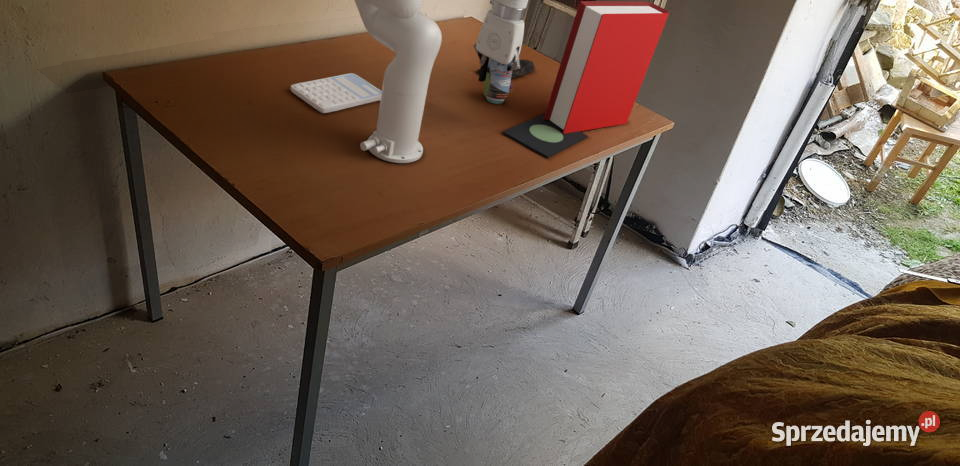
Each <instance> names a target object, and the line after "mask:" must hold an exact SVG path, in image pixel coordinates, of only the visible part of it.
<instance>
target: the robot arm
mask: <svg viewBox="0 0 960 466" xmlns="http://www.w3.org/2000/svg"><path fill="white" fill-rule="evenodd" d="M528 2H529V0H489V4H491V5H492V6H491V9H490V10H488V11H487V13H486V15H485V18H484V19H483V22H482V25H481V27H480V30H479V34H478V36H477V39H476V42H475V43H474V44H473V49H474V51H475V52H476V53H477V56H478V59H479V65H480V68H481V69H480V73H479V72H478V82H480V83H482V82H483V81H485V80H486V74H487V68H488V62H489V58H491V59H494V60H496V61H497V62H499V63H501V64H508V63H510V62H511V61H512V62H513V64H512V65H510V66H508V67H507V72H508V71H512V70H517V69H520V61H519V60H520V55H521V50H522V46H523V41H524V34H525V21H524V17H525V13H526V11H527V8H528V7H527V6H528V4H529V3H528ZM354 3H355V5H356V8H357V10H358V12H359V15H360V19H361V21H362V23H363V26H364V28H365V30H366V32H367V33H368V34H369V36H370V37H371V38H372V39H373V40H375V41H376V42H378V43H380V44H382V45H383V46H384V47H386V48H388V49H389V50H390V51H392V52H393V53H394V58H393V59H392V61H391V62H390V63H389V64H388V65H387V67H386V69H385V70H384V73H383V74H384V75H383V78H382V79H383V80H382V87H381V91H382V94H381V100H379V107H378V108H379V109H378V114H377V121H376V128H375V130H374V131H373V132H372V134H371V135H370V136H369V137H368V139H367V140H365V141H362V142H360V143H359V148H360V150H361V151H362V152H363V151H364V152H365V151H368V152H370V153H371V154H372V155H373V156H375V158H378V159H380V160H383V161H385V162H389V163H394V164H409V163H415V162H416V161H418V160H420V159H421V157H422V156H423V153H424V147H423V145H422V143H421V141H419V137H420V133H421V132H420V131H421V126H422V120H423V116H424V110H425V105H426V99H427V93H428V88H429V83H430V79H431V74H432V70H433V67H434V64H435V61H436V58H437V56H438V54H439V52H440V49H441V46H442V43H443V36H442V31H441V29H440V27H439V25H438V24H437V23H436V21H434V20H433V19H432V18H431V17H430V16H428V15H426V14H425V13H423V12H422V11H421V10H422V8H423V5H424V0H354Z"/></svg>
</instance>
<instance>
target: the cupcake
mask: <svg viewBox="0 0 960 466" xmlns="http://www.w3.org/2000/svg"><path fill="white" fill-rule="evenodd" d="M481 84H482V86H483V87H484V86H485V81H482V82H481ZM513 91H514V83H513V81H511V82H510V87H509V93H508V96H509V95H510V94H512V93H513ZM485 98H486V101H487V102H489V103H491V104H494V105H502V104H503V103H504V102H505V100H506V99H504V100H503V101H495V100H491V99H488V98H487V97H486V96H485Z"/></svg>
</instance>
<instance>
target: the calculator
mask: <svg viewBox="0 0 960 466" xmlns="http://www.w3.org/2000/svg"><path fill="white" fill-rule="evenodd" d="M289 89H290V92H291V93H292V94H294V95H295V96H296V97H298V98H300V99H301V100H302V101H303V102H305V103H306V104H308V105H309V106H311V108H313V109H315V110H316V111H318V112H319V113H321V114H328V113H329V114H330V113H332V112H337V111H341V110H346V109H349V108H355V107H359V106H363V105H367V104H371V103H375V102H380V100H381V94H382V89H379V88H378V87H376V85H375V86H374V85H373V84H372V83H370V82H369V81H367V80H366V79H364V78H362V77H361V76H360V75H358V74H356V73H352V72H349V73H343V74H339V75H334V76H328V77H324V78H320V79H314V80H308V81H303V82H298V83H293V84H291V85H290V88H289Z"/></svg>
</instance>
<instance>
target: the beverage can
mask: <svg viewBox="0 0 960 466" xmlns="http://www.w3.org/2000/svg"><path fill="white" fill-rule="evenodd" d="M512 64H513V62H512V61H511V62H510V63H508V64H501V63H499V62H497V61H496V60H494V59H491V58H489V62H488V68H487V74H486V80H485V86H483V95H484V96H485V98H486V97H487V98H488V99H491V100H495V101H503V100H504V99H505V100H507V99H508V97H509V95H508V93H509V87H510V82H512V79H511V76H512V71H513V70H512V71H508V72H507V67H508V66H510V65H512ZM505 100H504V101H505Z"/></svg>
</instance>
